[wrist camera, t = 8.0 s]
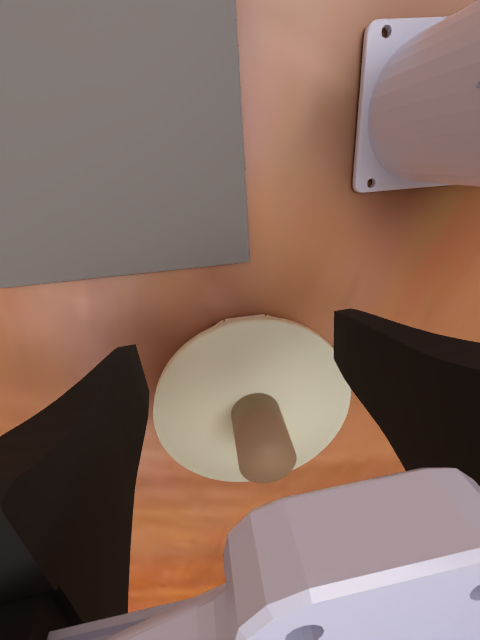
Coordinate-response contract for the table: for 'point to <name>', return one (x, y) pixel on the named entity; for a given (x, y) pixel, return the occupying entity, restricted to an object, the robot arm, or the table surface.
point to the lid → (250, 400)
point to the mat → (119, 139)
